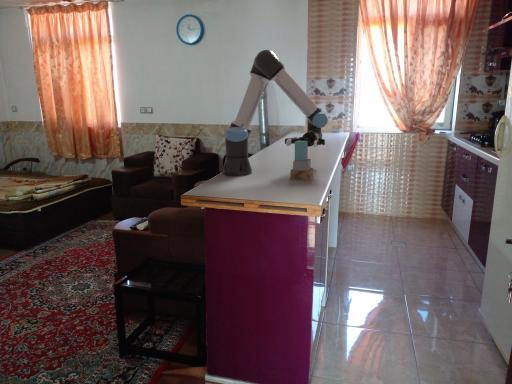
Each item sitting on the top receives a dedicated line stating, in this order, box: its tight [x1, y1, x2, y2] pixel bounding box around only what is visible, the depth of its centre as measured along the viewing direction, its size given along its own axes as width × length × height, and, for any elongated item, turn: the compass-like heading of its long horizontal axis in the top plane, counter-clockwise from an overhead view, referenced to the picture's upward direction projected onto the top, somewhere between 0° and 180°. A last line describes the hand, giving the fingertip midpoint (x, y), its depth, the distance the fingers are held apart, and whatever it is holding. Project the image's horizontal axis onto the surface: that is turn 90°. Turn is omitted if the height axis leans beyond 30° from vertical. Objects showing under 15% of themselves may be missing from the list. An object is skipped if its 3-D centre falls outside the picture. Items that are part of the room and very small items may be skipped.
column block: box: [294, 141, 309, 161], centre depth 192 cm, size 5×5×9 cm
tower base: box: [290, 167, 314, 181], centre depth 195 cm, size 9×9×4 cm
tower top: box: [292, 158, 312, 171], centre depth 194 cm, size 8×8×4 cm
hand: (300, 143), depth 191 cm, fingers open, 13 cm apart
